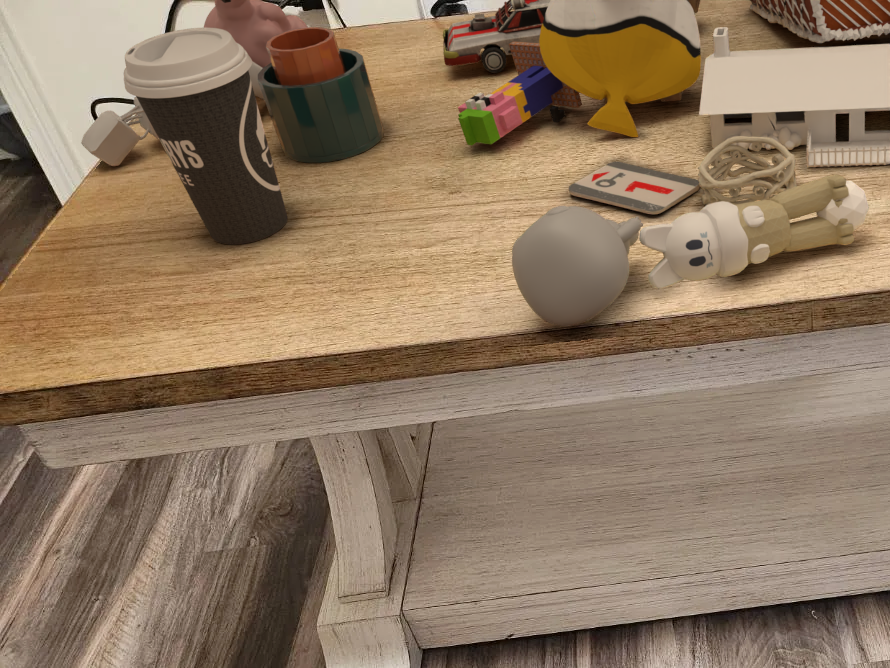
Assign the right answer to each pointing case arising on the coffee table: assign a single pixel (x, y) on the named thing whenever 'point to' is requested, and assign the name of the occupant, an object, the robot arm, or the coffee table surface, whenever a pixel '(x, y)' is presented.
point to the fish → (621, 52)
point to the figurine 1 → (252, 25)
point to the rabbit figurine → (754, 230)
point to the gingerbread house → (827, 17)
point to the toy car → (494, 34)
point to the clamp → (130, 129)
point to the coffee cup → (210, 129)
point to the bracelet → (745, 171)
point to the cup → (305, 56)
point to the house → (800, 98)
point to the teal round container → (324, 113)
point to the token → (634, 187)
